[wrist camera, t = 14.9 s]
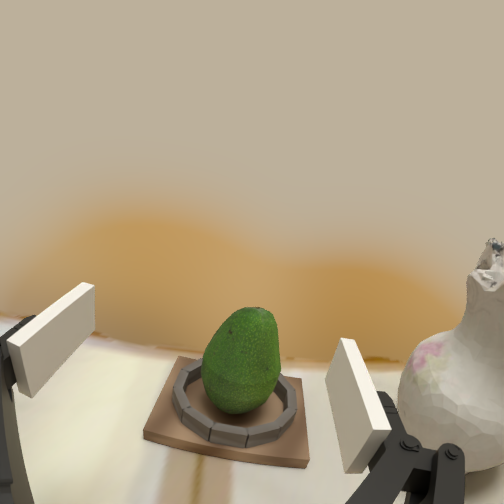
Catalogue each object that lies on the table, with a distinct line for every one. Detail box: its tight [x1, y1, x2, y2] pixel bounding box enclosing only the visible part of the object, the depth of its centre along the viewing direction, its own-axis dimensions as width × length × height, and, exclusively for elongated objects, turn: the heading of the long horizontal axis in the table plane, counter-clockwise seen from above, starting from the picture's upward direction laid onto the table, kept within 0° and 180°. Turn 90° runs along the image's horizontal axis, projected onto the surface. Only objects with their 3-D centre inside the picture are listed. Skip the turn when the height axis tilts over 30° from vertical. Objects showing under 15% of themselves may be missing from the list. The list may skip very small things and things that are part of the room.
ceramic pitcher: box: [398, 238, 504, 474], centre depth 27 cm, size 22×20×25 cm
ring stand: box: [143, 356, 310, 468], centre depth 33 cm, size 16×14×4 cm
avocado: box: [201, 307, 281, 414], centre depth 31 cm, size 8×8×12 cm
